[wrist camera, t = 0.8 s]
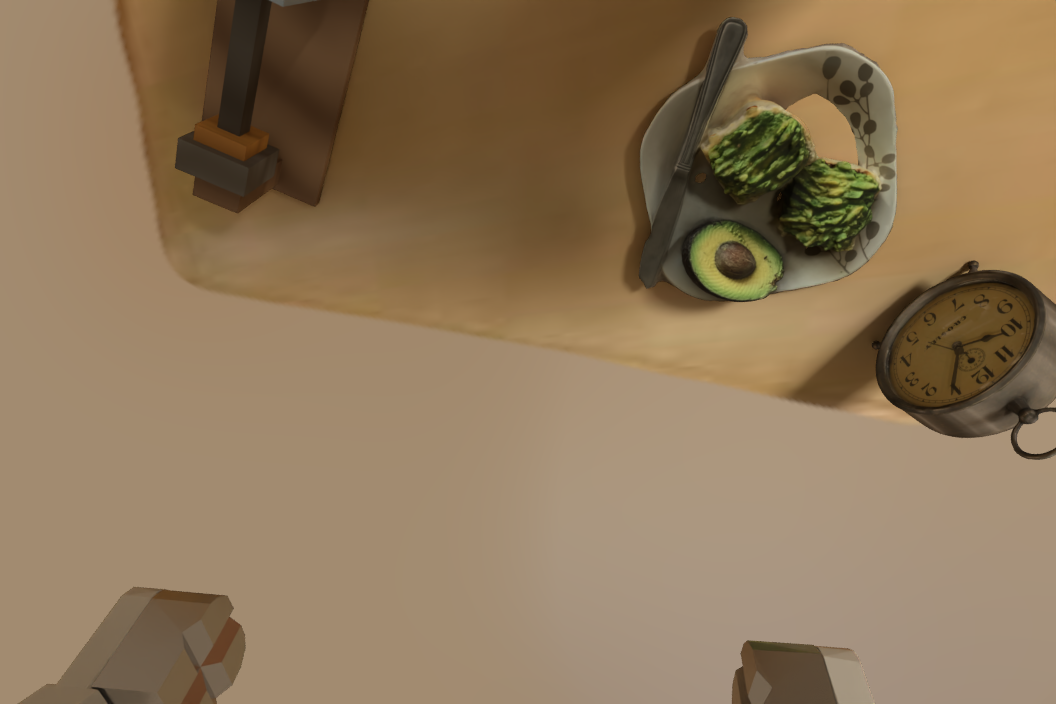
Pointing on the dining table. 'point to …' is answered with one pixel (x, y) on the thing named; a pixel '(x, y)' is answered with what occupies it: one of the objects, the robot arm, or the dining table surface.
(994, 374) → the alarm clock
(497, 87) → the dining table surface
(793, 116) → the salad plate
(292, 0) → the sleeve
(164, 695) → the robot arm
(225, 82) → the rail rig
